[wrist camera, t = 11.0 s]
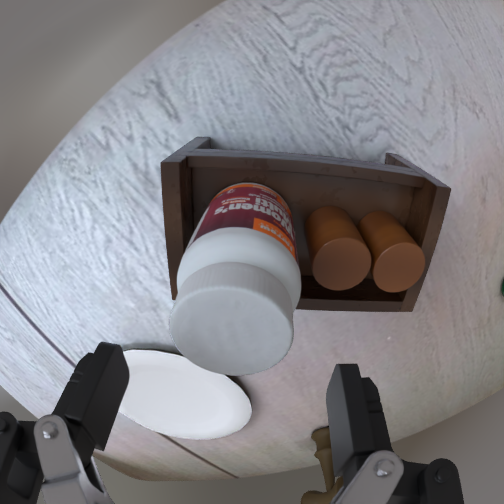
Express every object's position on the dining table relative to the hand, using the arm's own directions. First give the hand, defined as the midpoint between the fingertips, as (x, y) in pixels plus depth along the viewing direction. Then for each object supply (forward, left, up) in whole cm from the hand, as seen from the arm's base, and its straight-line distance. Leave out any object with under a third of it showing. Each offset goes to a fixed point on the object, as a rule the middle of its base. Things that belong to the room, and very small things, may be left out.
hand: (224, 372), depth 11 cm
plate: (+33, -11, -20) cm, 40 cm away
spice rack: (0, +4, -20) cm, 20 cm away
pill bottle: (0, 0, -13) cm, 13 cm away
